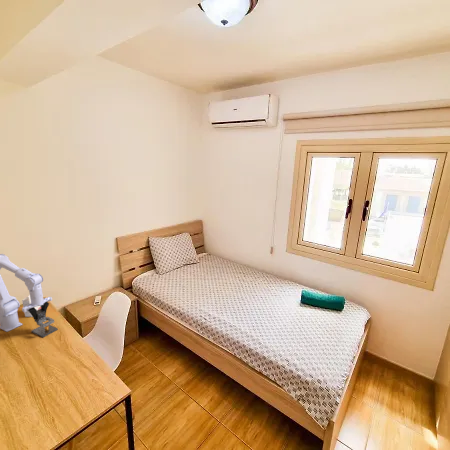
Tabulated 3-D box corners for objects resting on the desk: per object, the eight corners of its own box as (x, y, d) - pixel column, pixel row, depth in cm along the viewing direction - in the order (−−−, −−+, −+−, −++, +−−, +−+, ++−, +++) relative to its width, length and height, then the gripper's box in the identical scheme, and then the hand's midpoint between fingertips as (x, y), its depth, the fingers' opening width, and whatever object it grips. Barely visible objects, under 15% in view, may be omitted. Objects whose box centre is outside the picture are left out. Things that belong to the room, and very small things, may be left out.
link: (32, 322, 141) (31, 312, 140) (43, 316, 146) (42, 307, 145) (43, 327, 137) (42, 318, 136) (54, 322, 142) (53, 312, 141)
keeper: (31, 332, 142) (30, 325, 141) (46, 324, 149) (45, 318, 148) (43, 337, 138) (41, 330, 137) (57, 329, 145) (56, 322, 144)
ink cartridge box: (34, 309, 165) (31, 289, 162) (42, 309, 165) (39, 289, 162) (24, 317, 157) (20, 295, 154) (32, 317, 157) (28, 295, 154)
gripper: (25, 302, 132) (29, 325, 134) (54, 291, 145) (56, 312, 147) (18, 300, 135) (22, 322, 137) (46, 289, 148) (49, 309, 150)
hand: (39, 317), depth 143 cm, fingers closed on link, 4 cm apart
